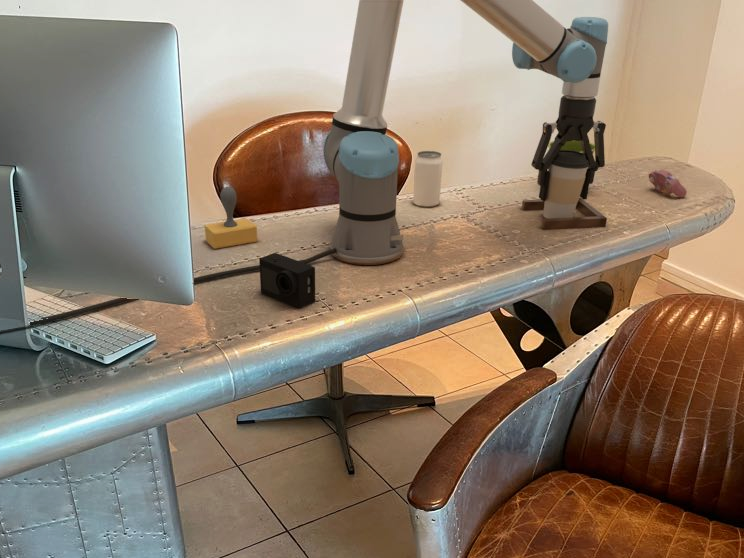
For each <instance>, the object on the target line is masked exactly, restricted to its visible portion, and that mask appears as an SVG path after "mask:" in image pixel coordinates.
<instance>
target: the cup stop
mask: <svg viewBox="0 0 744 558" xmlns="http://www.w3.org/2000/svg"><path fill="white" fill-rule="evenodd" d="M544 204H545V201H542V200H541V199H540V198H539V199H522V201H521V209H522V211H537V210H538V211H539V210H544ZM575 209H576V210H578V211H579V212H580V213H582V214H583V215H584V216H577V217H575V216H573V218H551V219H547V218H542V219H541V225H540V226H541V227H540V228H541V229H542V230H558V229H559V230H561V229H563V230H564V229H583V228H584V229H585V228H602V227H603V228H605V227H606V226H607V221H608V217H607V216H605V215H604V214H602V213H601V212H600V211H599V210H597V209H596V208H595V207H594V206H592V205H591V204H590V203H589V202H587V201H586V199H582V198H581V197H579V200H578V203H577V205H576V208H575Z"/></svg>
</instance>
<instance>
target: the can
mask: <svg viewBox="0 0 744 558" xmlns="http://www.w3.org/2000/svg"><path fill="white" fill-rule="evenodd" d="M413 174H414V175H413V193H412V194H413V196H412V202H413V204H414V205H415V206H417V207H420V208H433V207H437V206H438V205H439V204H440V202H441V201H440V199H441V189H442V177H443V176H442V174H443V158H442V153H441V152H439V151H434V150H422V151H419V152H417V156H416V158H415V161H414V173H413Z"/></svg>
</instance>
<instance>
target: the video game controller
mask: <svg viewBox="0 0 744 558" xmlns="http://www.w3.org/2000/svg"><path fill="white" fill-rule="evenodd" d="M648 180H649V181H648V182H650V183H651V184H652V185H653V186H654V187H655V190H656V191H657V192H658V193H661V192H663V194H664V195H665V196H670V195H671V194H673V195H674V196H676V197H678V198H681V199H682V198H685V197H686V196H687V192H688V191H687V189H686V188H685V186H684V185H682V184H681V182H680V180H679V179H678V178H677V176H675V175H673V174H672V172H670V171H669V170H665V169H660V168H657V170H656V169H655V170H652V172H650V173H649V174H648Z"/></svg>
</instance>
